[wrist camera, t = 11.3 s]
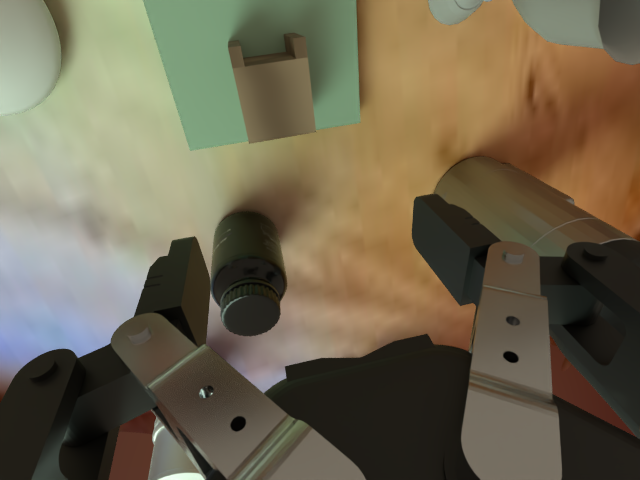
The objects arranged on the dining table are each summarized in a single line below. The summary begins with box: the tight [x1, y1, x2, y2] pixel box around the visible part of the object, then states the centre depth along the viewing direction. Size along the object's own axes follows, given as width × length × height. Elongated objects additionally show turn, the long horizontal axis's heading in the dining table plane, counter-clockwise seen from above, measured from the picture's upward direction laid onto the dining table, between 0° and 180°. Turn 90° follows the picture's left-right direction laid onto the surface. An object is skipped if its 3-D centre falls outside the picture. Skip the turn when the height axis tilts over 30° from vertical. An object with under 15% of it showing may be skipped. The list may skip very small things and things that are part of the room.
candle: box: [148, 417, 205, 480], centre depth 41 cm, size 7×7×15 cm
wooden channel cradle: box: [228, 33, 316, 144], centre depth 26 cm, size 5×6×5 cm
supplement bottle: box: [210, 212, 287, 336], centre depth 34 cm, size 7×7×12 cm
